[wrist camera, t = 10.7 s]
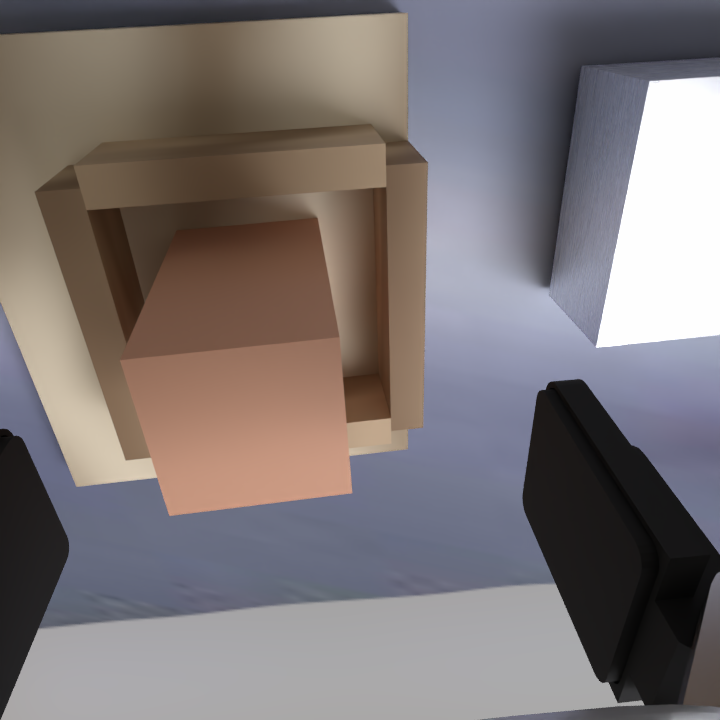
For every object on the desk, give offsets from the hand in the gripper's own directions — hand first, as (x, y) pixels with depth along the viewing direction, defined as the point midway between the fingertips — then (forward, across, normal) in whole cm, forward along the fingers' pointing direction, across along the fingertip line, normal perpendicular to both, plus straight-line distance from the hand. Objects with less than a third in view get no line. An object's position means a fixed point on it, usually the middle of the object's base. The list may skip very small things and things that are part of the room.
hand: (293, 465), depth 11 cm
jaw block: (+8, +1, 0) cm, 8 cm away
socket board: (+9, +3, 0) cm, 9 cm away
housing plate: (+9, -12, -2) cm, 16 cm away
